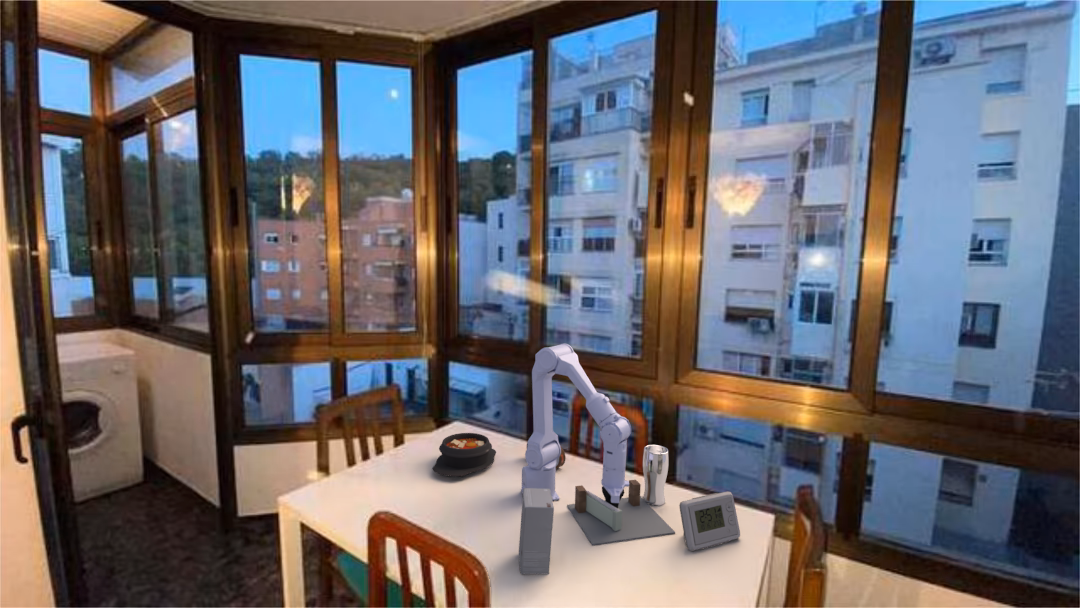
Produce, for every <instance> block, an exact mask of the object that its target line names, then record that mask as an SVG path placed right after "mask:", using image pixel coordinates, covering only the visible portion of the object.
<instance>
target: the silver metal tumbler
mask: <svg viewBox="0 0 1080 608" xmlns="http://www.w3.org/2000/svg"><path fill="white" fill-rule="evenodd" d="M668 471H669V449H668V448H667V447H665V446H662V445H658V444H648V445H646V446H644V448H643V456H642V472H643V479H644V492H643V497H642V498H643V499H644V500H645V501H646V502H647V503H648V504H649V506H659V507H660V506H662V505H664V504H665V502H666V496H665V485H666V481H667V476H668Z"/></svg>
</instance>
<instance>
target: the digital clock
mask: <svg viewBox="0 0 1080 608" xmlns="http://www.w3.org/2000/svg"><path fill="white" fill-rule="evenodd" d="M735 505H736V504H735V499H734V495H733V494H732V492H731V491H723V492H719V493H718V492H716V493H711V494H706V495H702V496H697V497H692V498H691V499H687V500H683V501H681V502H680V503H679V505H678V506H679V513H680V517H681V524H682V531H683V536H684V542H685V546H686V548H687V550H688V551H691V552H692V551H697V550H703V548H704V549H708V548H712V547H715V546H719V545H721V543H723V544H726V543H729V542H731V541H733V540H737V539H739V538H740V537H741V530H740V525H739V521H738V520H739V519H738V515H737V511H736V510H737V509H736V506H735ZM728 541H729V542H728ZM725 542H726V543H725ZM718 544H719V545H718ZM714 545H715V546H714ZM711 546H712V547H711ZM707 547H708V548H707Z"/></svg>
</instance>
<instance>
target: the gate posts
mask: <svg viewBox="0 0 1080 608" xmlns="http://www.w3.org/2000/svg"><path fill="white" fill-rule="evenodd" d="M628 481H629V486H628V495H627V496H628V497H627V498H628V501H629V503H630V504H631V505H632V506H640V496H641V486H642V484H641V483H640V482H639V481H637V479H629V480H628ZM574 489H575V492H574V493H575V494H574V504H575V509H576V510H577V512H578V513H585V512H586V491H587V489H586V488H585V487H584V486H583V485H582V484H581V485H575V488H574Z"/></svg>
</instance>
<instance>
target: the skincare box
mask: <svg viewBox="0 0 1080 608" xmlns="http://www.w3.org/2000/svg"><path fill="white" fill-rule="evenodd" d="M552 499H553V497H552V496H551V491H550V489H537V488H524V489H523V494H522V502H521V503H522V504H521V517H520V529H519V530H520V532H519V541H518V566H519V573H520V574H521V575H545V574H546V575H549V574H550V562H551V553H552V552H551V551H552V548H551V547H552V538H553V536H552V535H553V527H554V525H553V523H554V513H555V512H554V511H555V508H554V507H555V506H554V503H553V501H554V500H552Z"/></svg>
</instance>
